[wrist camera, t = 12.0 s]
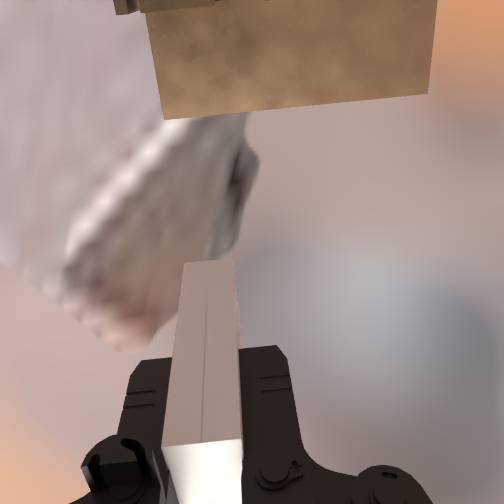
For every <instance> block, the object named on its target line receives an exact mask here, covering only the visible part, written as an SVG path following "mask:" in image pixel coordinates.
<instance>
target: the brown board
mask: <svg viewBox="0 0 504 504" xmlns="http://www.w3.org/2000/svg"><path fill="white" fill-rule="evenodd" d="M113 1H114V6H115V11H116V15H125V14H130V13H133V12H136V11H138V10H140V11H141V13H145V15H146V21H147V26H148V32H149V38H150V43H151V49H152V55H153V60H154V66H155V71H156V77H157V83H158V88H159V94H160V99H161V105H162V111H163V116H164V120H169V119H179V118H189V117H199V116H209V115H219V114H229V113H239V112H249V111H259V110H269V109H279V108H289V107H299V106H308V105H309V106H310V105H320V104H329V103H340V102H349V101H359V100H369V99H379V98H390V97H400V96H410V95H420V94H428V84H429V75H430V66H431V57H432V47H433V37H434V28H435V18H436V9H437V0H113Z"/></svg>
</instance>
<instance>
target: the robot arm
mask: <svg viewBox="0 0 504 504" xmlns="http://www.w3.org/2000/svg"><path fill="white" fill-rule="evenodd" d="M126 394H127V395H126V397H125V401H124V406H123V411H122V414H121V418H120V423H119V427H118V432H117V434H116V435H112V436H109V437H108V438H106V439H104V440H102V441H101V442H99V443H97V444H96V445H95V446H94V447H93V448H92V449H91V450H90V451H89V452H88V454H87V455H86V457H85V459H84V461H83V463H82V465H81V469H82V471H83V474H84V476H85V478H86V481H87V483H88V485H89V488H90V490H91V491H90V492H89V493H88V494H86V495H85V496H84V497H82V498H80V499H78V500H76V501H74V502H72V503H69V504H433V503H432V501H431V500H430V499H429V497H428V495H427V494H426V493H425V491H424V490H423V488H422V486H421V485H420V484H419V483H418V482H417V481H416V480H415V479H414V478H413V477H412V476H411V475H410V474H408V473H406V472H404V471H403V470H401V469H399V468H397V467H392V466H387V465H378V466H372V467H369V468H367V469H366V470H364V471H362V472H361V473H359V475H358V476H352V475H347V474H342V473H338V472H334V471H331V470H328V469H325V468H324V467H322V466H320V465H319V464H317V463H316V462H315V461H314V460H312V459H311V458H310V457H309V455H308V454H307V452H306V450H305V449H304V446H303V443H302V440H301V434H300V428H299V423H298V417H297V412H296V406H295V400H294V395H293V390H292V384H291V378H290V373H289V367H288V361H287V358H286V356H285V355H284V354H283V353H282V351H281V350H280V349H279V348H278V346H277V345H273V346H263V347H253V348H244V349H242V336H241V324H240V315H239V307H238V299H237V290H236V283H235V274H234V267H233V258H229V259H219V260H209V261H199V262H190V263H184V269H183V277H182V285H181V293H180V301H179V309H178V317H177V325H176V333H175V341H174V349H173V357H169V358H160V359H150V360H141V362H140V363H139V364H138V366H137V367H136V368H135V370H134V371H133V373H132V374H131V375H130V379H129V383H128V387H127V392H126Z"/></svg>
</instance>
